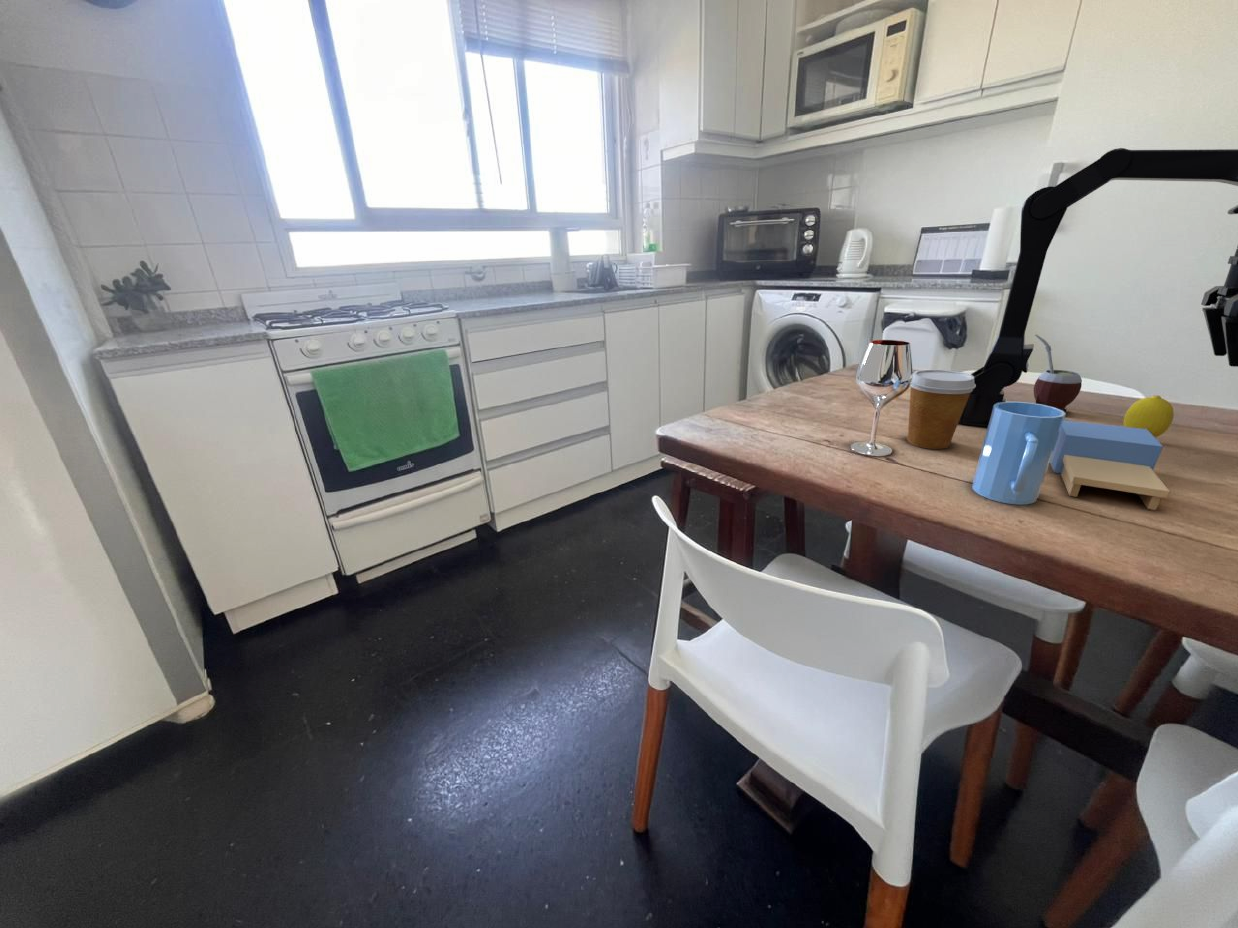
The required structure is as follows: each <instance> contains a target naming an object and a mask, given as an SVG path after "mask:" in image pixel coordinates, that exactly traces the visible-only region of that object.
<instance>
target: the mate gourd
mask: <svg viewBox="0 0 1238 928" xmlns="http://www.w3.org/2000/svg"><path fill="white" fill-rule="evenodd" d="M1034 336H1035V337H1036V338H1037V339H1038V340H1039V341H1040V342H1041V343H1042V344H1043V345H1044V349H1045V352H1046V354H1047V361H1048V368H1049V369H1047V370H1044V371H1042V373H1041V374H1040V375H1038V377H1037V378H1036V380H1035V383H1034V385H1033V398H1034V400H1035V404H1042V405H1046V406H1051V407H1055V408H1057V409H1060V410H1062V411H1064V412H1065V413H1066V412H1067V410H1068V409H1067V408H1066V407H1068V406H1069V405H1071V403H1073V402H1074V400H1075V399H1076V398H1077V397H1078V396H1079V394H1080V392H1081V390H1082V385H1083V384H1082V382H1083V380H1082V377H1081V375H1080V374H1079V373H1078V372H1075V371H1072V370H1071V371H1070V370H1063V369H1054V363H1053V357H1052V348H1051V345H1050V344H1049V343H1048V342H1047V341H1046V340H1045V339H1044V338H1042V337H1041V336H1040V335H1038V334H1035V335H1034Z"/></svg>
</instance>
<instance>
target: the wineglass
mask: <svg viewBox="0 0 1238 928" xmlns="http://www.w3.org/2000/svg"><path fill="white" fill-rule="evenodd" d="M913 365H914V364H913V355H912V346H911V342H910V341H905V340H898V339H877V340H876V339H875V340H874V339H873V340H870V341H869V342H868V344H867V346H866V348H865V350H864V353H863V355H862V357H861V359H860V361H859V364H858V367H857V369H856V373H855V376H854V379H855V384H856V387H857V389H858V390H859V392H860V393H861V394H862V395H863V396H864V397H865V398H866V399H867V400H868V401H869V403H871V405H872V406H873V408H874V411H873V412H874V414H873V419H872V425H871V431H870V435H869V439H868V441H856V442H853V443H851V444H850V450H851V451H853V452H855V453H857V454H860V455H864V456H868V457H869V456H870V457H886V456H889V455H891V454H892V452H893V449H892V448H891V447H890V446H888V445H886V444H883V443H880V442H876V438H877V430H878V425H879V419H880V414H881V410H882V409H883V408H884V407H885V406H886V405H888V404H889V403H891V402H892V401H895V400H896V399H898V398H899V397H901V396H902V395H903V394H905V393H906V392H907V391H908V390H909V389H910V388H911V386H910V385H911V383H912V379H913V373H914V367H913Z"/></svg>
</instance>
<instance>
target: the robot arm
mask: <svg viewBox="0 0 1238 928" xmlns="http://www.w3.org/2000/svg"><path fill="white" fill-rule="evenodd" d="M1112 181H1159V182H1160V181H1162V182H1207V183H1208V182H1213V183H1222V184H1227V185H1232V186H1235V187H1238V148H1237V149H1235V148H1233V149H1229V148H1227V149H1225V148H1224V149H1221V148H1219V149H1218V148H1217V149H1216V148H1215V149H1127V148H1125V147H1120V148H1113V149H1111V150H1108V151H1107V152H1105V153H1103V155H1101V157H1100V158H1098V159H1097V160H1095V161H1094V162H1092V163H1090V164H1088V165H1087V166H1086V167H1083V168H1082V169H1081V170H1079V171H1077V172H1076V173H1074V174H1072V175H1071V176H1069V177H1068V178H1066V179H1065V180H1063V181H1061V182H1060V183H1058V184H1056V185H1055V186H1050V185H1049V186H1045V187H1042V188H1040V189H1038V190H1036V191H1034V192H1033V193H1032V194H1030V195H1029V196H1028V197H1027V198H1026V199H1025V201H1024V202H1023V205H1022V208H1021V216H1020V233H1019V234H1020V239H1019V241H1020V242H1019V248H1020V249H1019V254H1018V257H1017V262H1016V265H1015V266H1016V267H1015V270H1014V273H1013V278H1012V281H1011V286H1010V290H1009V294H1008V298H1007V302H1006V305H1005V310H1004V314H1003V317H1002V322H1001V326H1000V330H999V333H998V336H997V338H996V340H995V342H994V344H993V345H992V348H991V350H990V352H989V354H988V357H987V359H986V361H985V363H984V365H983V366H982V367H980V368H979V369H977V370H975V371H974V372H972V373H970V375H972V376H974V384H975V385H976V387H975V388H974V389H973V391H972V392H971V393H970V395H969V398H968V400H967V403H966V405H965V408H964V410H963V413H962V415H961V418H960V420H959V422H958V425H967V426H976V427H983V428H988V425H989V421H990V417H991V414H992V410H993V406H994V405H995V404H996V403H1000V402H1007V400H1006V399H1005V398H1004V397H1005V390H1004V388H1007V387H1010V386H1012V385H1014V384H1016V383H1017V382H1018V381H1019V380H1020V378H1021V376H1022V373H1024V374H1027V373H1028V372H1029V371H1028V370H1029V365H1030V364H1029V360H1030V357H1031V355H1032V353H1033V352H1034V347H1035V344H1034V343H1029V344H1026V330H1027V327H1028V323H1029V319H1030V315H1031V311H1032V308H1033V304H1034V300H1035V298H1036V294H1037V289H1038V286H1039V282H1040V278H1041V274H1042V272H1043V268H1044V264H1045V260H1046V257H1047V253H1048V250H1049V248H1050V245H1051V244H1052V241H1053V239H1054V237H1055V235H1056V233H1057V231H1058V229H1059V227H1060V225H1061V222H1062V220H1063V218H1064V216H1065V214H1066V212H1067V210H1068V208H1069V207H1071V206H1073V205H1075V204H1076V203H1078V202H1079V201H1080V200H1082V199H1084V198H1085V197H1087V196H1089V195H1090V194H1092V193H1093V192H1095V191H1096V190H1098V189H1099V188H1101V187H1103V186H1105V185H1106V184H1108V183H1109V182H1112ZM1227 214H1228V215H1230V216H1231V215H1238V204H1237V205H1235V206H1234V207H1233V206H1232V207H1231V208H1230V209H1228V210H1227ZM1227 264H1228V265H1230V266H1229V269H1228V272H1227V275H1226V278H1225V280H1224V283H1223V285H1215V286H1213V287H1212V288H1210V289H1208V290H1207V291H1205V292H1204V294H1203V297H1202V300H1201V303H1200V305H1201V306H1204V307H1202V310H1201V311H1202V312H1203V315H1204V319H1205V320H1204V321H1205V323H1206V328H1207V331H1208V335H1209V340H1210V344H1211V347H1212V351H1213V355H1214V356H1215V357H1224V356H1227V362H1228V365H1229V367H1234V368H1235V367H1236V368H1237V367H1238V245H1237V246H1236V249H1235V252H1234V255H1230V256H1229V258H1228V261H1227Z"/></svg>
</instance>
